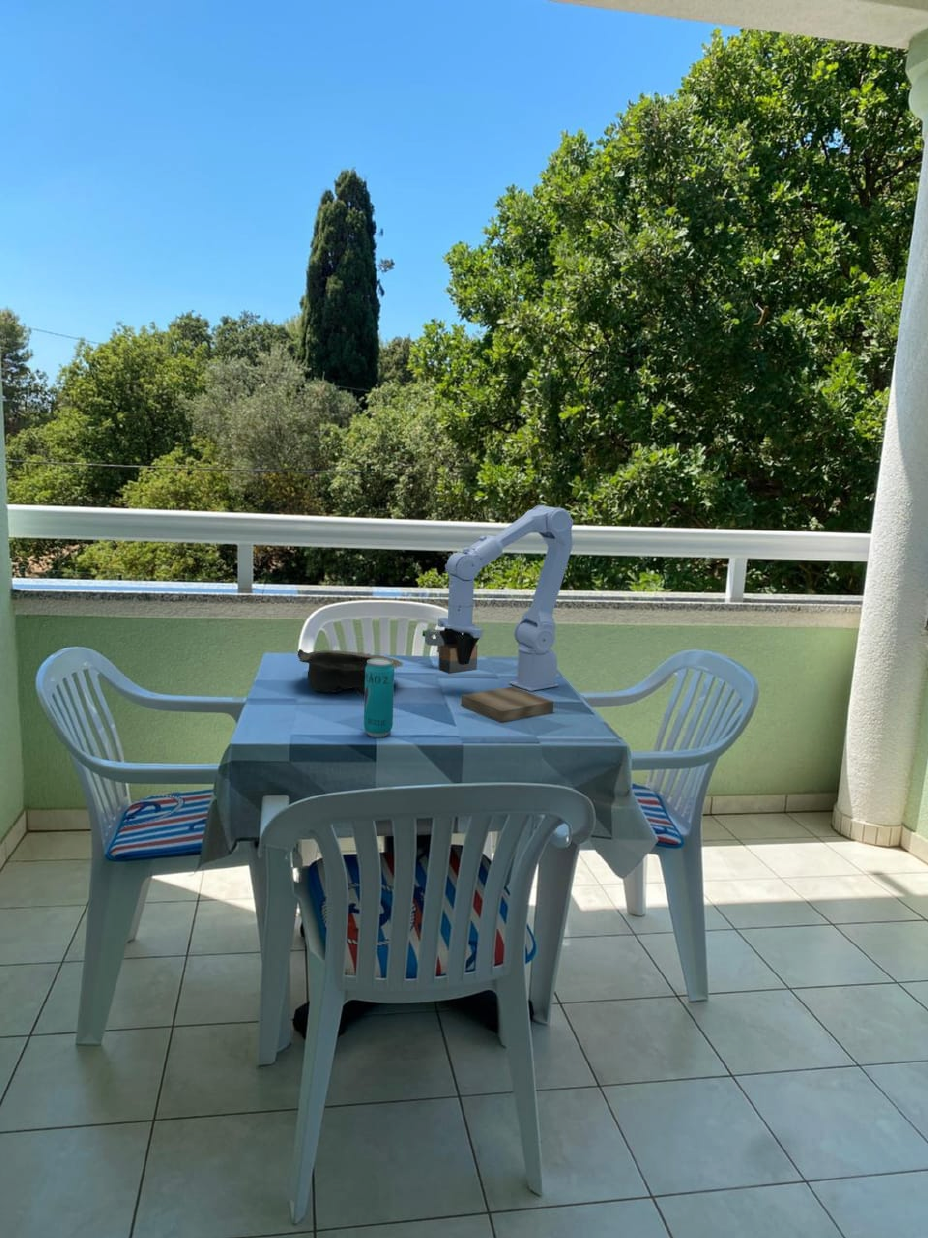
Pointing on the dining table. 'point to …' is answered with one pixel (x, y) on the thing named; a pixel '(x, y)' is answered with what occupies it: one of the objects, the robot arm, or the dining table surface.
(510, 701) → the walnut stand
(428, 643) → the mechanical component
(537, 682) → the robot arm
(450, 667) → the brown rectangular block
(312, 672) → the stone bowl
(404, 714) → the dining table surface
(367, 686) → the beverage can
